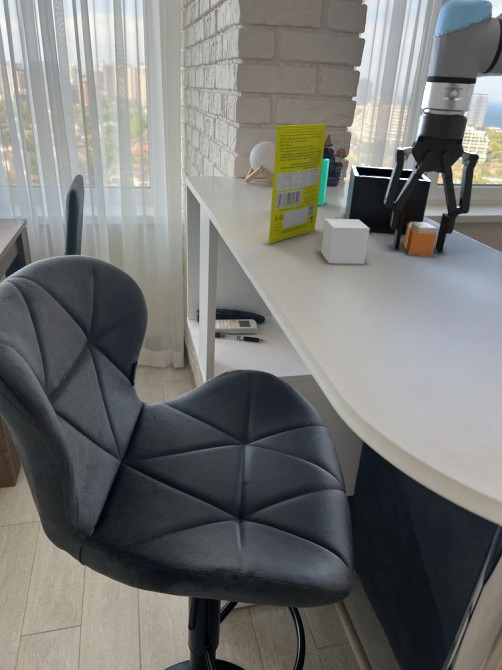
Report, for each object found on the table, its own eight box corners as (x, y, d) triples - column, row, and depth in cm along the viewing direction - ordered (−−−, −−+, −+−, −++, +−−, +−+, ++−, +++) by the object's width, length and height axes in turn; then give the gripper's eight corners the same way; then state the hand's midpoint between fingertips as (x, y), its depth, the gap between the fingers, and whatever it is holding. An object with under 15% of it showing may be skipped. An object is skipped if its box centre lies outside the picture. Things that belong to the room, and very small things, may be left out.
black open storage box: (409, 219, 115) (418, 170, 110) (420, 236, 102) (431, 181, 97) (344, 214, 117) (351, 165, 112) (347, 230, 104) (354, 175, 99)
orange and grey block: (425, 245, 96) (430, 220, 94) (432, 256, 90) (438, 229, 87) (402, 243, 96) (407, 218, 94) (408, 254, 90) (413, 227, 88)
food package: (312, 229, 103) (324, 123, 94) (317, 230, 102) (329, 124, 93) (266, 243, 92) (274, 125, 83) (271, 245, 91) (279, 125, 82)
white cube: (320, 252, 89) (324, 218, 86) (353, 253, 89) (358, 219, 87) (329, 263, 83) (333, 227, 81) (364, 263, 84) (369, 228, 81)
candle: (328, 204, 125) (334, 153, 120) (307, 205, 123) (312, 153, 118) (317, 199, 130) (322, 150, 125) (296, 200, 128) (301, 150, 123)
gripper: (385, 110, 80) (363, 249, 90) (515, 117, 78) (478, 259, 89) (380, 108, 87) (360, 238, 97) (500, 115, 85) (467, 247, 95)
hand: (417, 248), depth 93 cm, fingers open, 7 cm apart
